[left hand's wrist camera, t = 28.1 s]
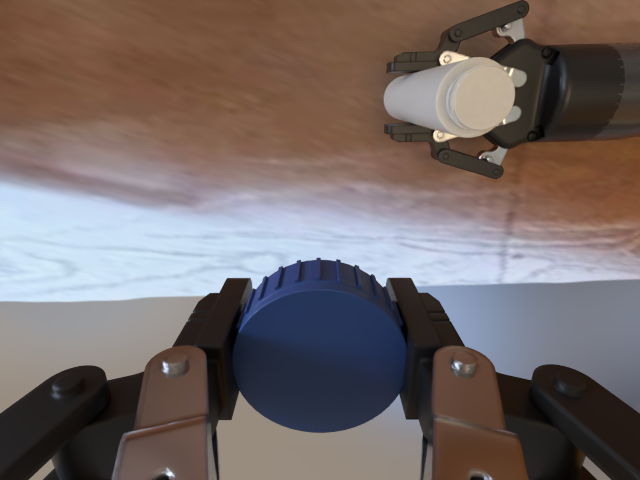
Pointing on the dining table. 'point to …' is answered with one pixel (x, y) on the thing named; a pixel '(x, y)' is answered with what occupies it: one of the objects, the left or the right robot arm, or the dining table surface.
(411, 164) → the dining table surface
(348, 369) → the lid
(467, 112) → the white tube
